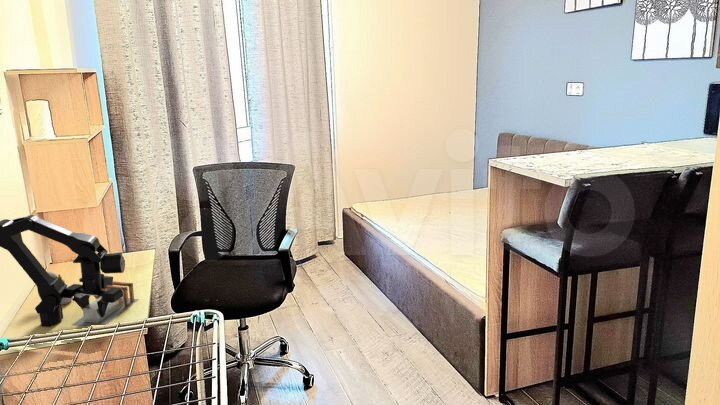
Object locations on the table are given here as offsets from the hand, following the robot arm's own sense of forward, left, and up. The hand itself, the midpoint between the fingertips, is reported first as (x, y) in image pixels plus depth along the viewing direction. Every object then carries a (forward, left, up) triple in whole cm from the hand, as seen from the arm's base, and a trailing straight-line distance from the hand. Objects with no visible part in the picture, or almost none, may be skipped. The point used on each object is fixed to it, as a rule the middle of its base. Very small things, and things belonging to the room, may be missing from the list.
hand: (95, 315), depth 174 cm
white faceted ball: (+10, +21, -2) cm, 23 cm away
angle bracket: (+15, 0, -2) cm, 15 cm away
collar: (+12, 0, -2) cm, 12 cm away
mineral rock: (+20, +11, -3) cm, 23 cm away
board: (+6, 0, -2) cm, 7 cm away
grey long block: (+5, 0, -1) cm, 5 cm away
